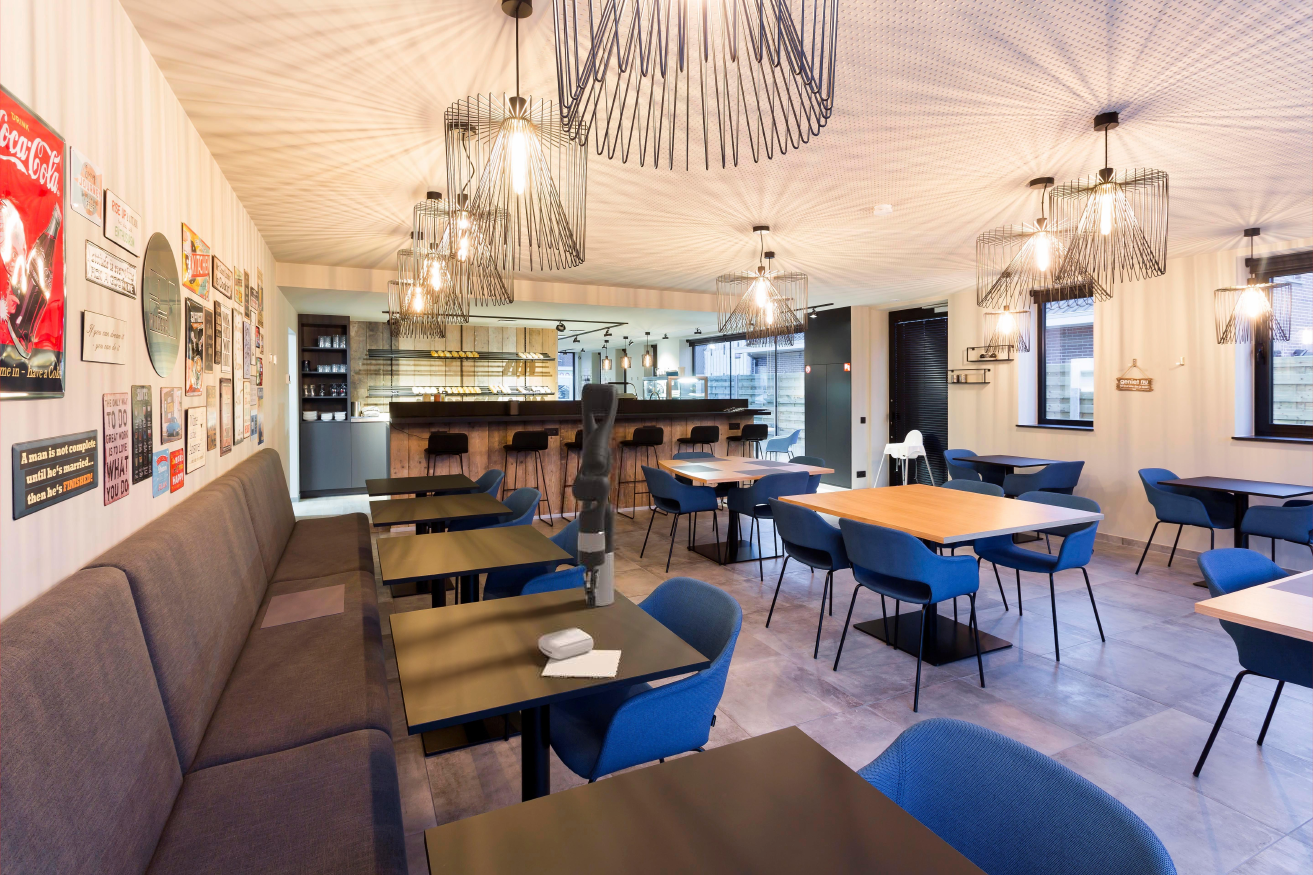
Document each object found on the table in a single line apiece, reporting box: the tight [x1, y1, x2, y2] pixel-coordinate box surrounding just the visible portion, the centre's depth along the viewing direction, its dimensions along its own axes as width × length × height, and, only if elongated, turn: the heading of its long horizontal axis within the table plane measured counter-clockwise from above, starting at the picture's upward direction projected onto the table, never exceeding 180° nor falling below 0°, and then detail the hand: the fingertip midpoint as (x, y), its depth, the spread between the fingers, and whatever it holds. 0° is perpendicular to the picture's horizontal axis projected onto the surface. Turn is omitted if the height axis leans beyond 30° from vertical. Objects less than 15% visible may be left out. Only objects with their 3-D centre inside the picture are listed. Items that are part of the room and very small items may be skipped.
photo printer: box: [538, 627, 594, 659], centre depth 168 cm, size 10×4×12 cm
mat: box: [541, 649, 622, 679], centre depth 162 cm, size 16×18×1 cm
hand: (591, 607), depth 177 cm, fingers closed
